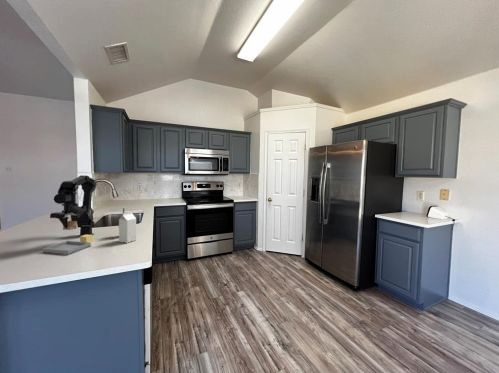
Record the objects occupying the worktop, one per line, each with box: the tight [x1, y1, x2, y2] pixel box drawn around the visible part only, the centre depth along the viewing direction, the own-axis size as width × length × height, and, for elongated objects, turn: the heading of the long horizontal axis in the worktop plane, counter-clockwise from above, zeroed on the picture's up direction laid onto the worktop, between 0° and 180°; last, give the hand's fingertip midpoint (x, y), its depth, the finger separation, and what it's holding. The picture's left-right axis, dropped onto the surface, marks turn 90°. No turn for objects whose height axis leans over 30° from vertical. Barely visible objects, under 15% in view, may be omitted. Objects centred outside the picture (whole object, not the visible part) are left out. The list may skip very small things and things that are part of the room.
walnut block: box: [62, 220, 78, 231], centre depth 132 cm, size 4×4×4 cm
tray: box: [42, 240, 92, 256], centre depth 125 cm, size 14×16×2 cm
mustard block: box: [79, 235, 94, 243], centre depth 138 cm, size 4×4×4 cm
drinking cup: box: [117, 207, 125, 225], centre depth 153 cm, size 8×8×20 cm
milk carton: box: [118, 211, 137, 244], centre depth 143 cm, size 7×7×19 cm
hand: (69, 227), depth 132 cm, fingers closed on walnut block, 4 cm apart
